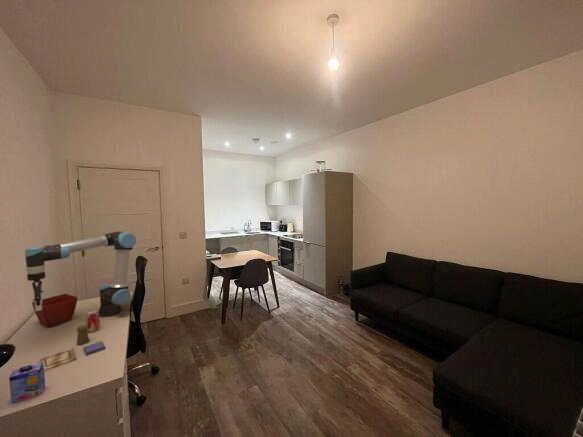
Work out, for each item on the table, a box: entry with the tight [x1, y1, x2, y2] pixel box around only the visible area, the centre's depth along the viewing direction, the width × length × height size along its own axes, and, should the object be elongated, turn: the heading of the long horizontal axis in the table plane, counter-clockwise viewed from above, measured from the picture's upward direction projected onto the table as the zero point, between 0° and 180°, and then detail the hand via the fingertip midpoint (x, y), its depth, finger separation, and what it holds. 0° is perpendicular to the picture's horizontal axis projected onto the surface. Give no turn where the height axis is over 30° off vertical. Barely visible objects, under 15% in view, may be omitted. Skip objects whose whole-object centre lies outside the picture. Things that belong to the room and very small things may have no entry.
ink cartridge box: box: [8, 363, 46, 404], centre depth 110 cm, size 10×6×14 cm, turn 124°
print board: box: [39, 347, 77, 372], centre depth 135 cm, size 14×14×1 cm
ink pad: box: [82, 340, 106, 357], centre depth 145 cm, size 9×9×2 cm
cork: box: [76, 324, 90, 346], centre depth 151 cm, size 6×6×11 cm
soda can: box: [85, 309, 101, 334], centre depth 166 cm, size 7×7×13 cm
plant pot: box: [31, 293, 78, 328], centre depth 178 cm, size 19×19×17 cm
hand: (39, 307), depth 148 cm, fingers open, 13 cm apart
